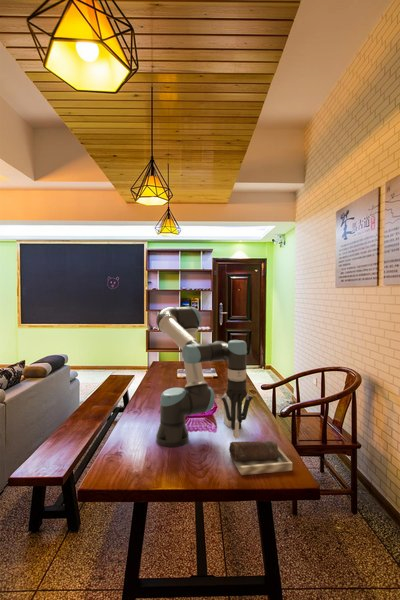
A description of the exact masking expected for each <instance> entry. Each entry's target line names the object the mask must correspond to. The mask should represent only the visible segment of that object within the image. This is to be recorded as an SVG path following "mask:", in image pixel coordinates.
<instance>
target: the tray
mask: <svg viewBox="0 0 400 600" xmlns="http://www.w3.org/2000/svg"><path fill="white" fill-rule="evenodd" d="M277 447H278V453H279V458H278V459H275V460H251V461H233V463H234V465H235V467H236V469H237V471H238V473H239V474H240V476H248V475H249V476H250V475H259V474H268V473H269V474H271V473H279V472H291V471H293V462H292V461H291V459H290V458H289V457H288V456H287V455H286V454H285V453H284V451H282V449H281V448H280V447H279V446H278V445H277ZM229 455H230V458H231V459H232V457H231V454H230V453H229Z"/></svg>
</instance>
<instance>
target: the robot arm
mask: <svg viewBox="0 0 400 600" xmlns="http://www.w3.org/2000/svg"><path fill="white" fill-rule="evenodd" d="M155 319H156V320H155V321H156V327H157V328H158V330H159V331H160V332H162V333H163V334H166V335H167V336H168V337H169V338H170V339H171V340H172V342H174V343H175V345H176V346H178V347H179V349H180V350H182V351H181V356H182V359H183V364H184V365H183V367H184V372H185V380H186V384H185V386H184V387H170V388H168V389H165V390H164V391H163V392H162V393H161V395H160V401H159V404H160V406H159V407H160V408H159V409H160V410H159V412H160V416H159V417H160V419H159V422H160V424H159V427H158V429H157V432H156V436H155V440H156V443H157V444H158V445H160V446H163V447H168V448H176V447H177V448H178V447H181V446H184V445H185V444H187V443H188V442H189V439H190V438H189V431H188V428H187V425H186V417H188V416H193V415H197V414H204V413H207V412H210V411H211V410H212V409H213V407H214V405H215V402H216V401H215V399H216V397H215V392H214V389H213V388H212V387H211V386H209V384H208V382H207V381H206V380H205V377H204V373H203V367H202V363H207V362H209V363H210V362H217V361H225V362H227V378H228V379H227V384H226V385H227V390H226V392H225V393H226V394H225V393H224V394H225V395H224V394H223V395H221V396H220V399H221V400H222V403H223V409H224V408H225V412H226V417H227V419H228V420H229V421H231V427H230V429H231V430H232V431H233V434H232V436H233V438H234V439H235V440H237V439H239V438H240V437H239V436H240V434H239V433H240V430H241V429H242V423H243V421H246V419H247V416H248V412H249V408H250V404H251V401H252V400H253V396H252V395H251V394H248V392H247V380H246V379H247V360H248V359H247V358H248V357H247V356H248V354H247V353H248V350H247V349H248V345H247V342H246V341H245V340H242V339H241V340H239V339H231V340H228V342H225V341H223V340H215V341H214V342H210V343H209V342H208V343H207V342H205V343H200V341H198V338H197V333H198V332H199V328H200V327H201V325H202V316H201V313H200V311H199V310H198V308H196V307H193V306H187V305H186V306H168V307H164V308H163V309H161V310H160V311H159V313H158V314H157V315H156V318H155ZM227 397H228V398H229V399H230V400H231V416H230V412H229V408H228V403H227V400H228V399H227ZM243 401H244V404H243ZM236 402H237V420H235V416H236Z"/></svg>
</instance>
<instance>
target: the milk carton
mask: <svg viewBox="0 0 400 600" xmlns="http://www.w3.org/2000/svg"><path fill="white" fill-rule="evenodd" d="M225 394H226V392H225V393H224V394H223V396H224V395H225ZM227 399H228V400H227V403H228V408H229V412H230V416H231V400H230V399H229V398H228V397H227ZM235 420H237V402H236V416H235ZM223 423H224V424H225V425H226V427H228V428H231V421H229V420H228V419H227V417H226V412H225V408H224V407H223Z"/></svg>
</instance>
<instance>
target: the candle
mask: <svg viewBox="0 0 400 600" xmlns="http://www.w3.org/2000/svg"><path fill="white" fill-rule="evenodd" d="M277 446H278V442H277V440H261V441H260V440H259V441H255V440H254V441H253V440H252V441H251V440H250V441H231V442H230V443H229V448H228V450H229V455H230V454H231V456H230V458H231V457H232V458H231V459H232V461H233V462H234V461H251V460H275V459H278V458H279V453H278V447H279V446H278V447H277Z"/></svg>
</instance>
